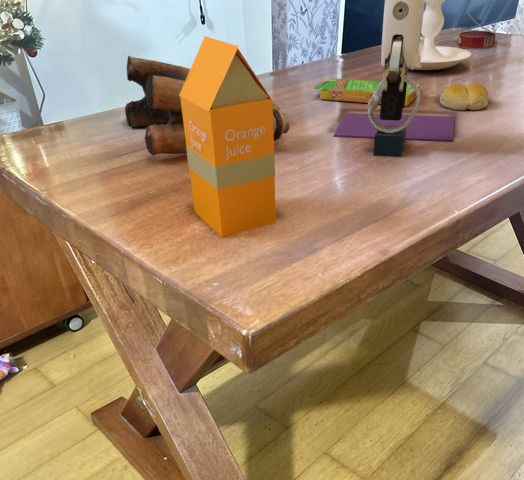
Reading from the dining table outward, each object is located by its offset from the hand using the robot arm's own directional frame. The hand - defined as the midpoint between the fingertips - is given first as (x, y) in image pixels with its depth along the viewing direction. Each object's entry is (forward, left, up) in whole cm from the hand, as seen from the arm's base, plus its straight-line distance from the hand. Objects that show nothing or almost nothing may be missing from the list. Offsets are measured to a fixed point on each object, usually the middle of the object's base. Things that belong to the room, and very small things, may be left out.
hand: (392, 112), depth 84 cm
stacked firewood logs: (+33, -4, -6) cm, 34 cm away
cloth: (0, -13, -6) cm, 14 cm away
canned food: (-16, -95, -6) cm, 97 cm away
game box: (+8, -33, -6) cm, 35 cm away
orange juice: (+17, +29, -6) cm, 34 cm away
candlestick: (-3, -62, -6) cm, 62 cm away
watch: (0, 0, -6) cm, 6 cm away
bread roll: (-12, -29, -6) cm, 32 cm away
